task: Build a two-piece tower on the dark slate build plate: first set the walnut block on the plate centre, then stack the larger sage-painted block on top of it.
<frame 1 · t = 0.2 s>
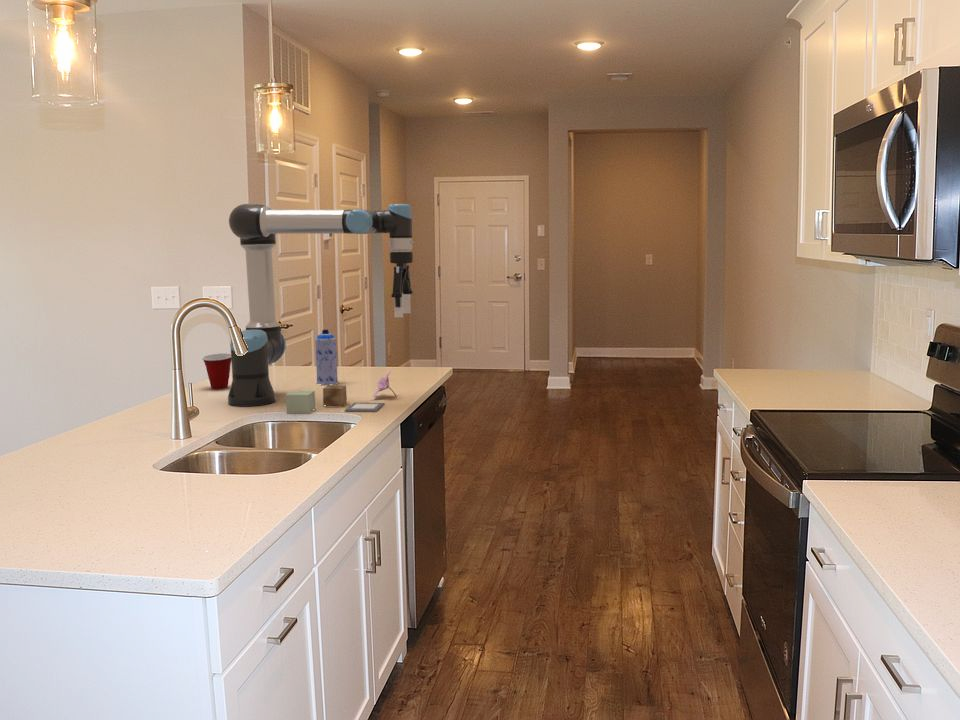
hand: (402, 315, 297), 27 cm above the worktop, tool pointing down, fingers open, 13 cm apart
lily: (383, 398, 299), on the worktop
aerosol can: (327, 384, 328), on the worktop
slate build plate: (364, 408, 281), on the worktop
plastic cup: (219, 388, 321), on the worktop
sage block: (301, 411, 278), on the worktop
walnut block: (335, 405, 287), on the worktop
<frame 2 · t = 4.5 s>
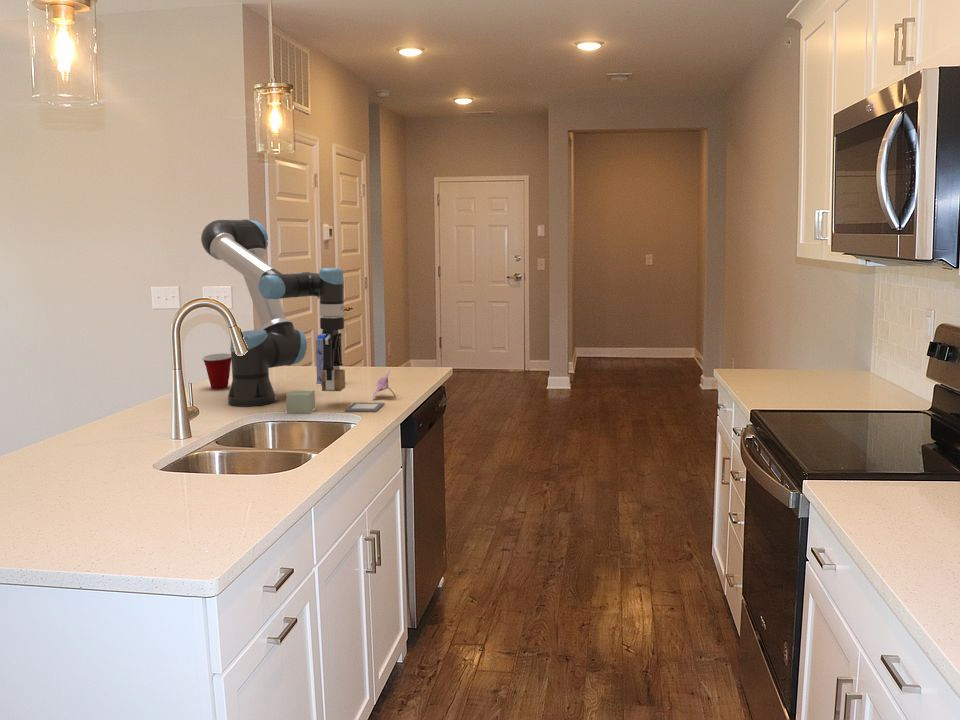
hand: (333, 387, 287), 6 cm above the worktop, tool pointing down, fingers closed on walnut block, 6 cm apart
walnut block: (333, 389, 287), point 5 cm above the worktop, touching gripper
everything else where it was.
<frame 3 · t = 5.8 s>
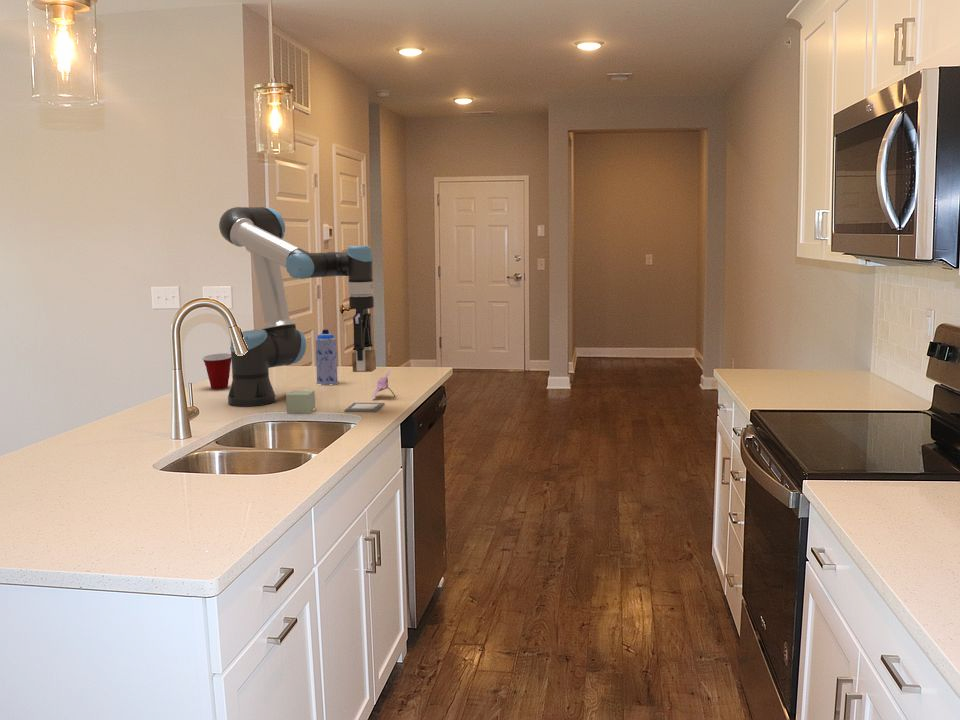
hand: (363, 369, 279), 13 cm above the worktop, tool pointing down, fingers closed on walnut block, 6 cm apart
walnut block: (364, 370, 279), point 12 cm above the worktop, touching gripper
everything else where it was.
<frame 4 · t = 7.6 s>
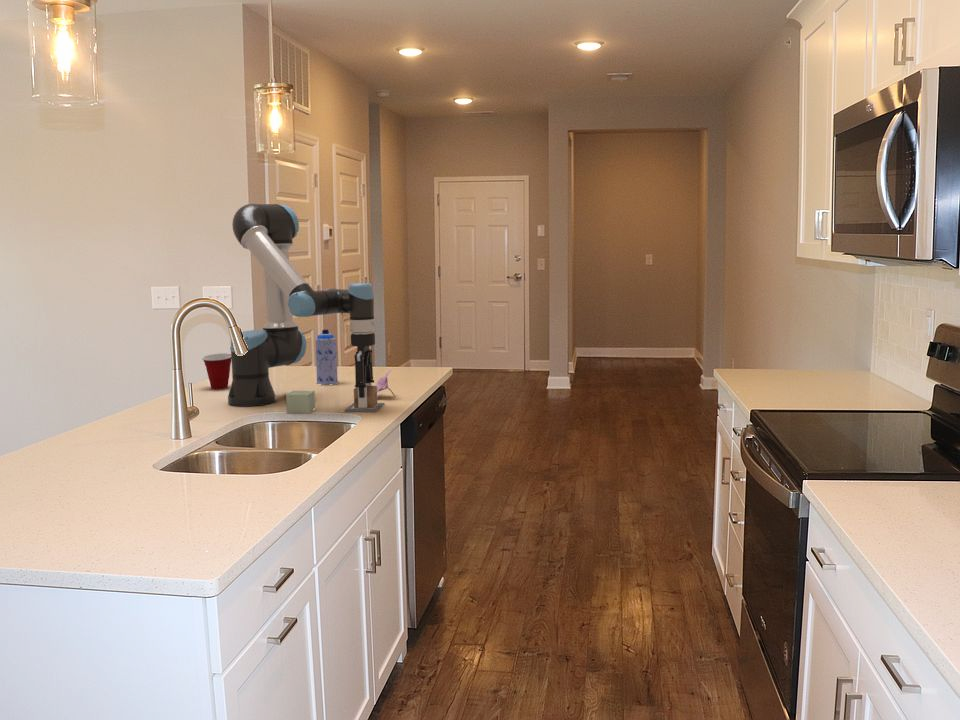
hand: (365, 405, 281), 1 cm above the worktop, tool pointing down, fingers closed on slate build plate, walnut block, 6 cm apart
walnut block: (365, 406, 281), point 1 cm above the worktop, touching gripper, slate build plate
everything else where it was.
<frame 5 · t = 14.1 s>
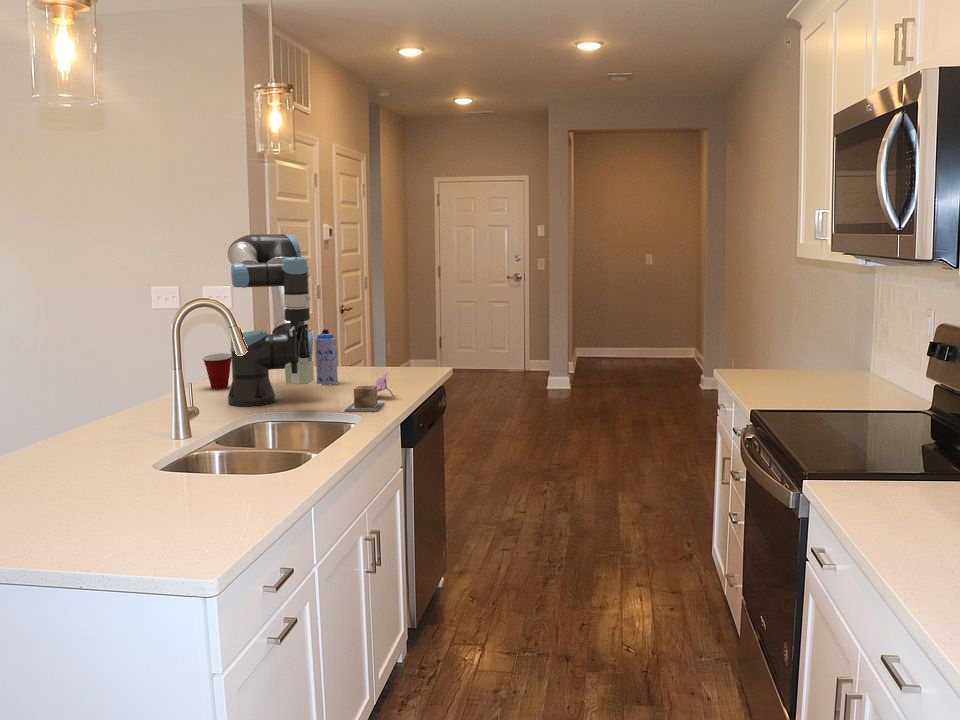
hand: (299, 380, 277), 9 cm above the worktop, tool pointing down, fingers closed on sage block, 7 cm apart
sage block: (300, 382, 277), point 9 cm above the worktop, touching gripper
walnut block: (365, 406, 281), point 1 cm above the worktop, touching slate build plate
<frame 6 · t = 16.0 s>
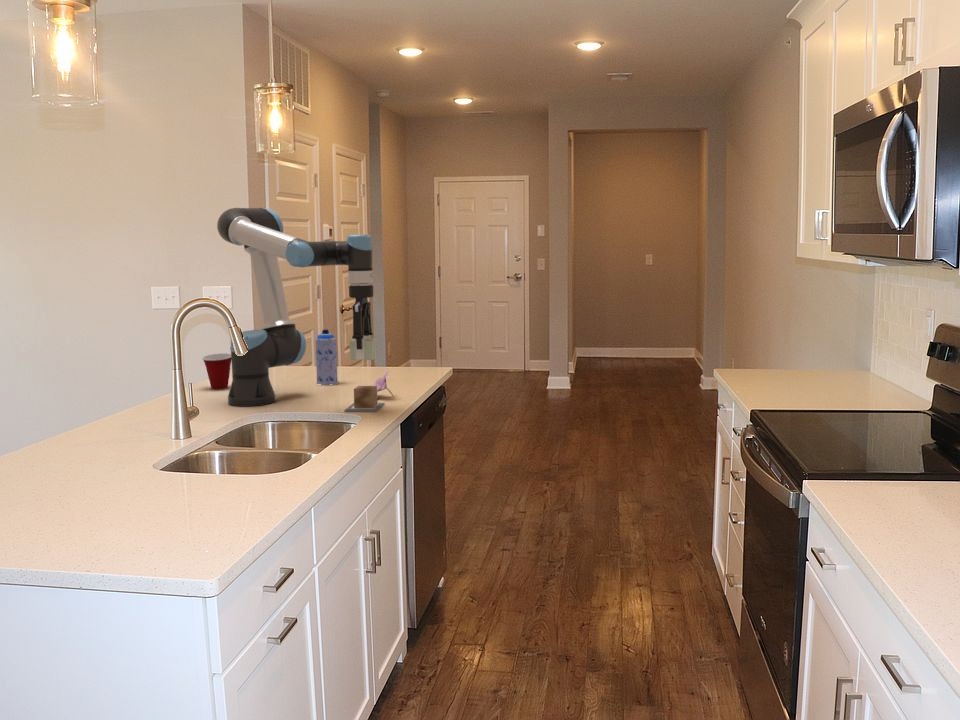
hand: (363, 357, 279), 16 cm above the worktop, tool pointing down, fingers closed on sage block, 7 cm apart
sage block: (363, 358, 279), point 16 cm above the worktop, touching gripper
when the fingers open (6 cm above the worktop, at t = 18.0 s): sage block stays where it is, resting on walnut block.
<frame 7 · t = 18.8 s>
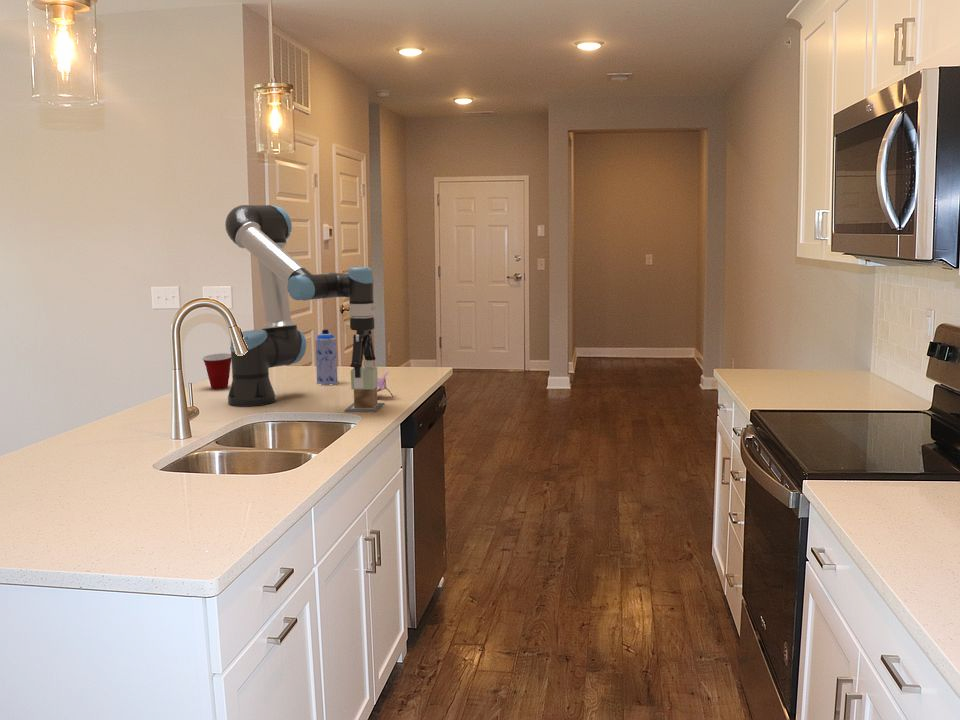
hand: (364, 384, 280), 8 cm above the worktop, tool pointing down, fingers open, 13 cm apart
sage block: (364, 387, 280), point 7 cm above the worktop, touching walnut block
walnut block: (365, 406, 281), point 1 cm above the worktop, touching sage block, slate build plate
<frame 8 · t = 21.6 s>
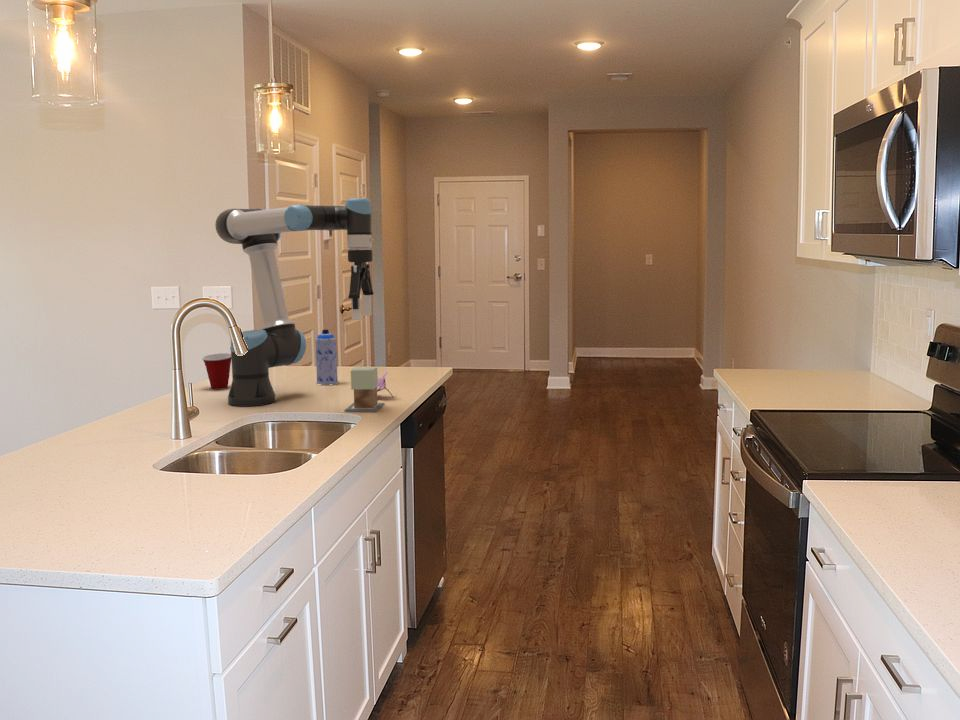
hand: (362, 317, 277), 29 cm above the worktop, tool pointing down, fingers open, 13 cm apart
at the end: walnut block inside the target area on the slate build plate (0.4 cm from its centre), point 0.7 cm above the slate build plate's base; sage block 0.2 cm off-centre on the walnut block, point 6.0 cm above the walnut block's base; the gripper is holding nothing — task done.
